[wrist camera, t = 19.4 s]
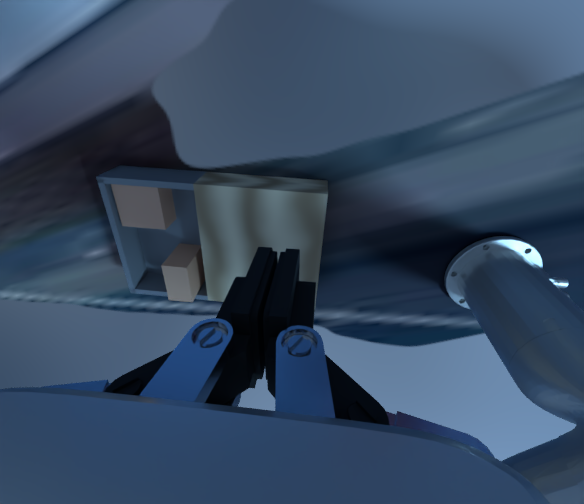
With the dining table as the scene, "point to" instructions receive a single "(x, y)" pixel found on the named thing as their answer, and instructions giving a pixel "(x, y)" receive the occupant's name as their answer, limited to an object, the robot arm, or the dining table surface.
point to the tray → (145, 241)
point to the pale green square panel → (257, 224)
